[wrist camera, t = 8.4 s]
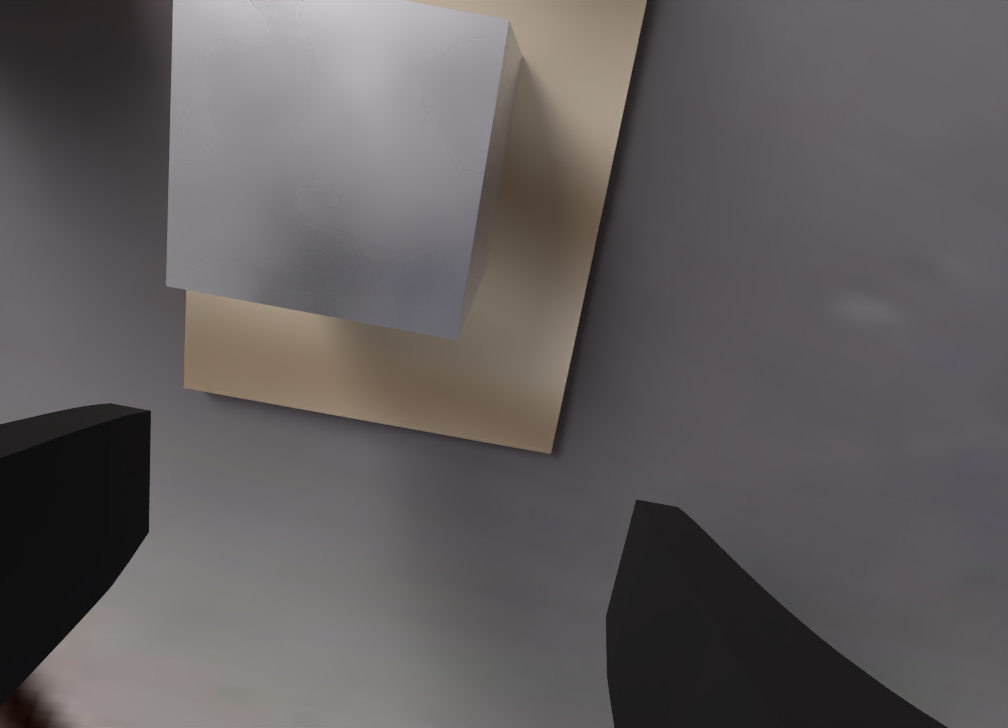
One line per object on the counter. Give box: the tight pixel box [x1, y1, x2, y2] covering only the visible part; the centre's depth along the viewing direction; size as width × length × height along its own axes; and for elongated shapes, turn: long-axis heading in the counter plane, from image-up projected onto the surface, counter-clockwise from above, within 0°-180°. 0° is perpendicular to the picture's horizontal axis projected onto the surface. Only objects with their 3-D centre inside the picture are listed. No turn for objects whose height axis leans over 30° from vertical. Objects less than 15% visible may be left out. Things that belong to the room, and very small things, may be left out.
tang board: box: [184, 0, 647, 454], centre depth 16 cm, size 14×10×4 cm
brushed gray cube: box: [166, 0, 522, 340], centre depth 14 cm, size 5×5×6 cm
